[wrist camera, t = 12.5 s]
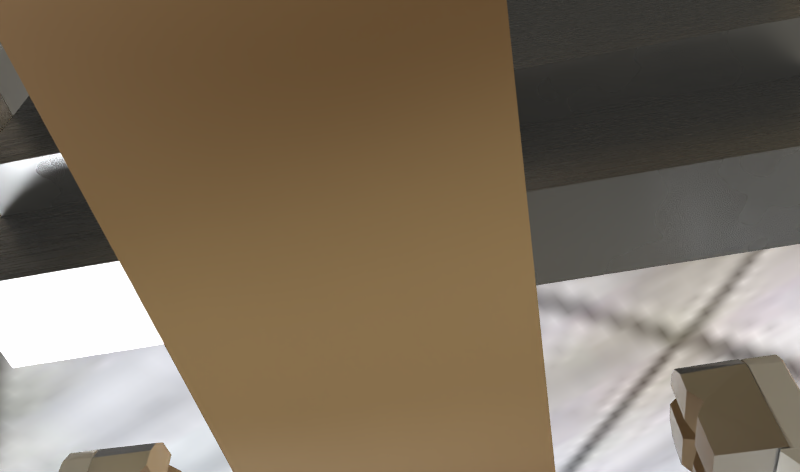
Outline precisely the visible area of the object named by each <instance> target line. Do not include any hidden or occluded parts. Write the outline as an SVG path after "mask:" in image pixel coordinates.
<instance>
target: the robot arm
mask: <svg viewBox="0 0 800 472" xmlns="http://www.w3.org/2000/svg"><path fill="white" fill-rule="evenodd" d="M671 387H672V389H673V392H674V394H675V397H676V399H675V400H674V401H673V402H672V403H671V404H670V423H671V430H672V436H673V440H674V444H675V447H676V450H677V453H678V456H679V459H680V462H681V464H682V465H683V466H684V467H686V468H687V469H689V470H690V471H691V472H800V389H799V387H798V386H797V384H796V382H795V381H794V379H793V377H792V375H791V374H790V372H789V370H788V369H787V367H786V365H785V363H784V362H783V360H782V359H781V358H780V357H778V356H777V355H769V356H762V357H755V358H748V359H742V360H739V359H736V360H730V361H723V362H717V363H710V364H704V365H697V366H691V367H684V368H678V369H674V371H673V373H672V377H671ZM170 458H171V454H170V452H169V451H168V449H167V448H166V446H165V445H164V443H153V444H144V445H135V446H126V447H117V448H109V449H100V450H93V451H85V452H77V453H70V454H69V455H68V457H67V458H66V459H65V460H64V461H63V462H62V464H61V467H60V469H59V472H181V471H180V470H178V469H176V468H174V467H172V466H170V465H169V462H170Z"/></svg>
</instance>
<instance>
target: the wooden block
mask: <svg viewBox="0 0 800 472" xmlns="http://www.w3.org/2000/svg"><path fill="white" fill-rule="evenodd" d="M0 42H1V44H2V46H3V48H4V50H5V52H6V53H7V55H8V57H9V59H10V61H11V63H12V64H13V66H14V68H15V70H16V72H17V74H18V76H19V77H20V79H21V81H22V83H23V85H24V87H25V88H26V90H27V92H28V94H29V96H30V98H31V100H32V101H33V103H34V105H35V107H36V109H37V111H38V112H39V114H40V116H41V118H42V120H43V122H44V124H45V125H46V127H47V129H48V131H49V133H50V135H51V136H52V138H53V140H54V142H55V144H56V146H57V148H58V149H59V151H60V153H61V155H62V157H63V159H64V160H65V162H66V164H67V166H68V168H69V170H70V172H71V173H72V175H73V177H74V179H75V181H76V183H77V184H78V186H79V188H80V190H81V192H82V194H83V196H84V197H85V199H86V201H87V203H88V205H89V207H90V208H91V210H92V212H93V214H94V216H95V218H96V220H97V221H98V223H99V225H100V227H101V229H102V231H103V232H104V234H105V236H106V238H107V240H108V242H109V244H110V245H111V247H112V249H113V251H114V253H115V255H116V256H117V258H118V260H119V262H120V264H121V266H122V267H123V269H124V271H125V273H126V275H127V277H128V279H129V280H130V282H131V284H132V286H133V288H134V290H135V291H136V293H137V295H138V297H139V299H140V301H141V303H142V304H143V306H144V308H145V310H146V312H147V314H148V315H149V317H150V319H151V321H152V323H153V325H154V327H155V328H156V330H157V332H158V334H159V336H160V338H161V339H162V341H163V343H164V345H165V347H166V349H167V351H168V352H169V354H170V356H171V358H172V360H173V362H174V363H175V365H176V367H177V369H178V371H179V373H180V375H181V376H182V378H183V380H184V382H185V384H186V386H187V387H188V389H189V391H190V393H191V395H192V397H193V399H194V400H195V402H196V404H197V406H198V408H199V410H200V411H201V413H202V415H203V417H204V419H205V421H206V423H207V424H208V426H209V428H210V430H211V432H212V434H213V435H214V437H215V439H216V441H217V443H218V445H219V447H220V448H221V450H222V452H223V454H224V456H225V458H226V459H227V461H228V463H229V465H230V467H231V469H232V470H233V472H555V464H554V455H553V445H552V435H551V426H550V416H549V406H548V397H547V387H546V377H545V368H544V358H543V348H542V338H541V329H540V319H539V309H538V300H537V290H536V280H535V271H534V261H533V251H532V242H531V232H530V222H529V213H528V203H527V193H526V184H525V174H524V164H523V155H522V145H521V135H520V126H519V116H518V106H517V96H516V87H515V77H514V67H513V58H512V48H511V38H510V29H509V19H508V9H507V0H0Z"/></svg>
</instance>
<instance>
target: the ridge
mask: <svg viewBox="0 0 800 472" xmlns="http://www.w3.org/2000/svg"><path fill="white" fill-rule="evenodd" d="M507 9H508V19H509V29H510V38H511V48H512V58H513V67H514V77H515V87H516V96H517V106H518V116H519V126H520V135H521V145H522V155H523V164H524V174H525V184H526V193H527V203H528V213H529V222H530V232H531V242H532V251H533V261H534V271H535V280H536V285H541V284H547V283H554V282H560V281H566V280H573V279H579V278H585V277H592V276H598V275H604V274H611V273H617V272H623V271H630V270H636V269H642V268H649V267H655V266H661V265H668V264H674V263H680V262H687V261H693V260H699V259H706V258H712V257H718V256H725V255H731V254H737V253H744V252H750V251H756V250H763V249H769V248H775V247H782V246H788V245H794V244H800V0H507ZM0 94H1V95H2V97H3V99H4V101H5V103H6V104H7V106H8V108H9V110H10V111H11V113H12V115H13V117H12V118H11V119H10V121H9V122H8V123H7V125H6V126H5V127H4V129H3V130H2V131H1V132H0V214H1V215H2V217H1V218H0V351H1V353H2V354H3V355H4V357H5V358H6V359H7V361H8V362H9V363H10V365H11V366H12V367H13V368H15V367H22V366H28V365H34V364H41V363H47V362H53V361H60V360H66V359H72V358H79V357H85V356H91V355H98V354H104V353H110V352H117V351H123V350H129V349H136V348H142V347H148V346H155V345H161V344H164V343H163V341H162V339H161V338H160V336H159V334H158V332H157V330H156V328H155V327H154V325H153V323H152V321H151V319H150V317H149V315H148V314H147V312H146V310H145V308H144V306H143V304H142V303H141V301H140V299H139V297H138V295H137V293H136V291H135V290H134V288H133V286H132V284H131V282H130V280H129V279H128V277H127V275H126V273H125V271H124V269H123V267H122V266H121V264H120V262H119V260H118V258H117V256H116V255H115V253H114V251H113V249H112V247H111V245H110V244H109V242H108V240H107V238H106V236H105V234H104V232H103V231H102V229H101V227H100V225H99V223H98V221H97V220H96V218H95V216H94V214H93V212H92V210H91V208H90V207H89V205H88V203H87V201H86V199H85V197H84V196H83V194H82V192H81V190H80V188H79V186H78V184H77V183H76V181H75V179H74V177H73V175H72V173H71V172H70V170H69V168H68V166H67V164H66V162H65V160H64V159H63V157H62V155H61V153H60V151H59V149H58V148H57V146H56V144H55V142H54V140H53V138H52V136H51V135H50V133H49V131H48V129H47V127H46V125H45V124H44V122H43V120H42V118H41V116H40V114H39V112H38V111H37V109H36V107H35V105H34V103H33V101H32V100H31V98H30V96H29V94H28V92H27V90H26V88H25V87H24V85H23V83H22V81H21V79H20V77H19V76H18V74H17V72H16V70H15V68H14V66H13V64H12V63H11V61H10V59H9V57H8V55H7V53H6V52H5V50H4V48H3V46H2V44H1V42H0Z"/></svg>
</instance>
